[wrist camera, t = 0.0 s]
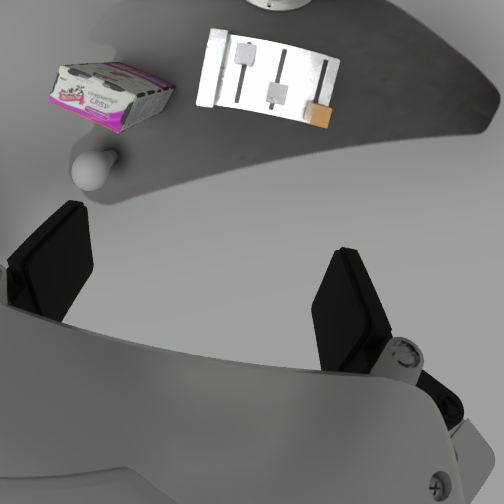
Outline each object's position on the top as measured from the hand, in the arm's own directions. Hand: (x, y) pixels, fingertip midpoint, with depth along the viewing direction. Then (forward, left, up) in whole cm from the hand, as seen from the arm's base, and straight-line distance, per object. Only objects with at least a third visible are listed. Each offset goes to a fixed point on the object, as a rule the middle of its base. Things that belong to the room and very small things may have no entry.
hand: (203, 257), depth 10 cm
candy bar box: (-3, -17, -37) cm, 41 cm away
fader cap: (-3, +10, -34) cm, 36 cm away
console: (-7, +3, -37) cm, 37 cm away
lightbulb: (+9, -21, -37) cm, 43 cm away
